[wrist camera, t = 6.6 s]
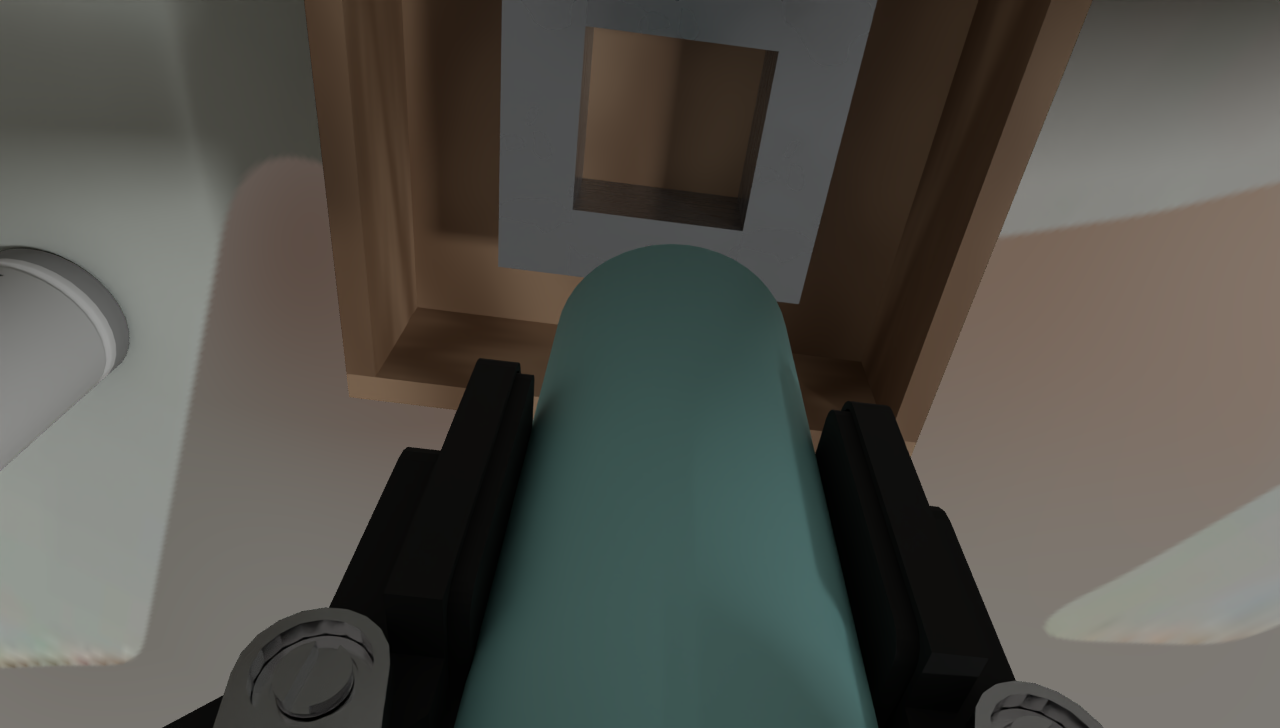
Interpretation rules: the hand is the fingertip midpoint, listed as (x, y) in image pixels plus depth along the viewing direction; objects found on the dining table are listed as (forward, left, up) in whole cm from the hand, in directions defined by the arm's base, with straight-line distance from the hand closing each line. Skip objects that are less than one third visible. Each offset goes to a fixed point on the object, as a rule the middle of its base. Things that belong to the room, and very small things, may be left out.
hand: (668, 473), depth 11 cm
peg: (0, 0, -3) cm, 3 cm away
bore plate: (0, 0, -20) cm, 20 cm away
